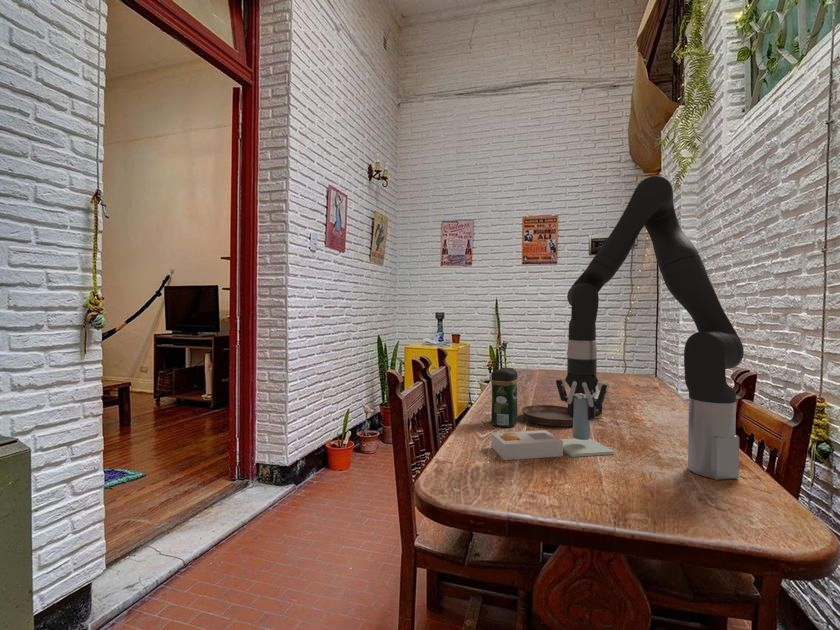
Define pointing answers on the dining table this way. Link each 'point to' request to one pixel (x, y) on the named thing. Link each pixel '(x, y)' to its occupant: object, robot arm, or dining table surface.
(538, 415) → the plant saucer
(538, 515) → the dining table surface
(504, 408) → the coffee jar
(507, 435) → the orange rounded piece
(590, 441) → the pad
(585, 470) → the dining table surface
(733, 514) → the dining table surface
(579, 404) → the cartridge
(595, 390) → the medicine bottle
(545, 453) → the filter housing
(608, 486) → the dining table surface
